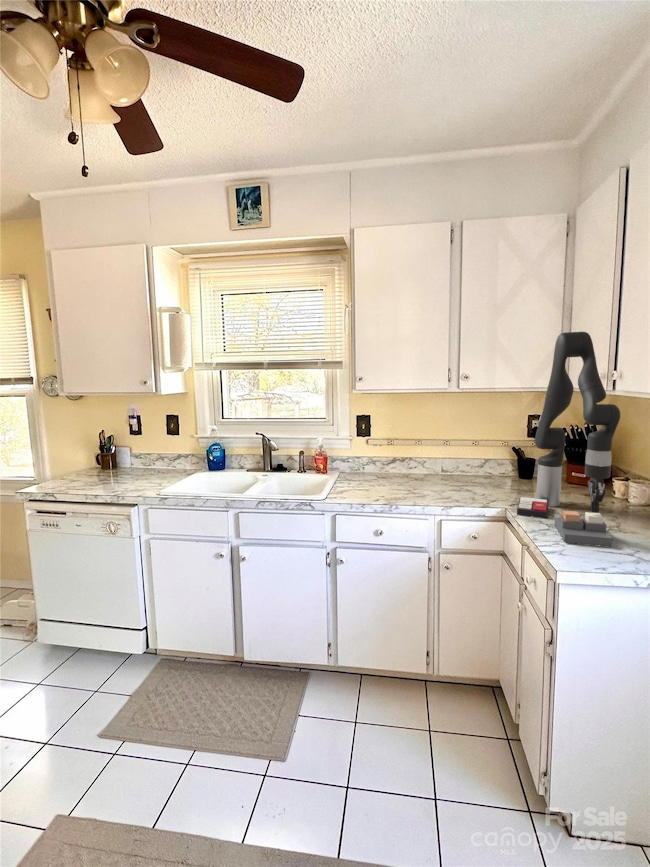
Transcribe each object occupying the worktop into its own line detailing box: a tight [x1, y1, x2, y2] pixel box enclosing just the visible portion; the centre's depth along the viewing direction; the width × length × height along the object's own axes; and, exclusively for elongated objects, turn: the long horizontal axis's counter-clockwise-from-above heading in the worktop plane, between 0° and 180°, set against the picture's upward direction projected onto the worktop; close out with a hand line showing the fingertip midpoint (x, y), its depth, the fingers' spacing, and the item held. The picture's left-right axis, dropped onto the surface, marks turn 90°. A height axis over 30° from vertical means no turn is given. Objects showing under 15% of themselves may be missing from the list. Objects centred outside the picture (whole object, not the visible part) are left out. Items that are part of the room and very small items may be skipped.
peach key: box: [562, 510, 581, 522], centre depth 156 cm, size 4×4×2 cm
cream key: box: [584, 511, 604, 524], centre depth 154 cm, size 4×4×2 cm
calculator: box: [516, 496, 549, 519], centre depth 183 cm, size 11×4×15 cm
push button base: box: [553, 515, 614, 548], centre depth 155 cm, size 18×14×6 cm
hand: (594, 512), depth 154 cm, fingers closed
